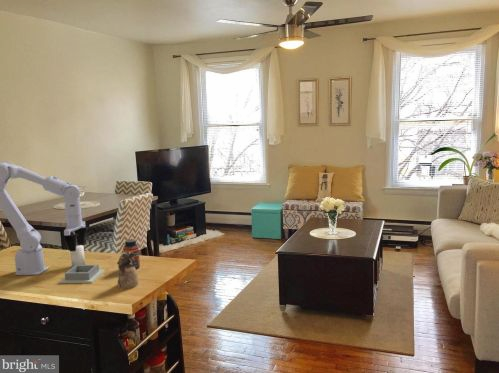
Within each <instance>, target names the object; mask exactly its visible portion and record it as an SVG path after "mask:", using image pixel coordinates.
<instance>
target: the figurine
mask: <svg viewBox="0 0 499 373" xmlns="http://www.w3.org/2000/svg"><path fill="white" fill-rule="evenodd" d="M133 254H134V253H133V252H131V253H130V254H129V255H128V253H127V252H124V253H122V254H121V255H120V256H119V258H118V261H117V262H116V264H117V266H118V270H119V271H118V278H117V288H119V289H121V290H125V289H132V288H135V287H137V286H138V284H139V276H138V272H137V269H135V267H134V266H135V259H134V258H133V257H132V256H133ZM130 261H133V264H132V263H130Z"/></svg>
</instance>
